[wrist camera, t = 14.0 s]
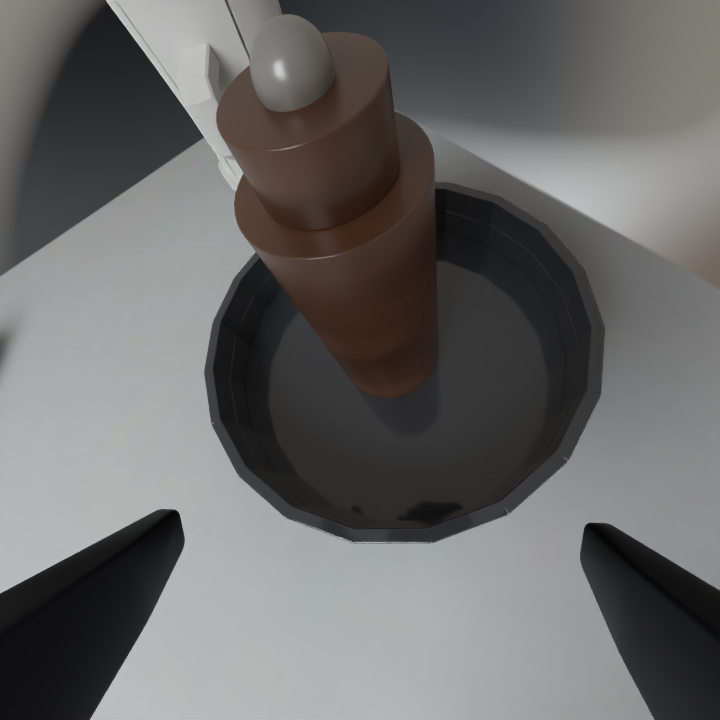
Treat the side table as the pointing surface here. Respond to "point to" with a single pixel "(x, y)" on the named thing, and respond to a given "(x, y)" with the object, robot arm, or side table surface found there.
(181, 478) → the side table surface
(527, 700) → the side table surface
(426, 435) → the pan
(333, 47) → the pepper mill
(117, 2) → the cup
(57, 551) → the side table surface
